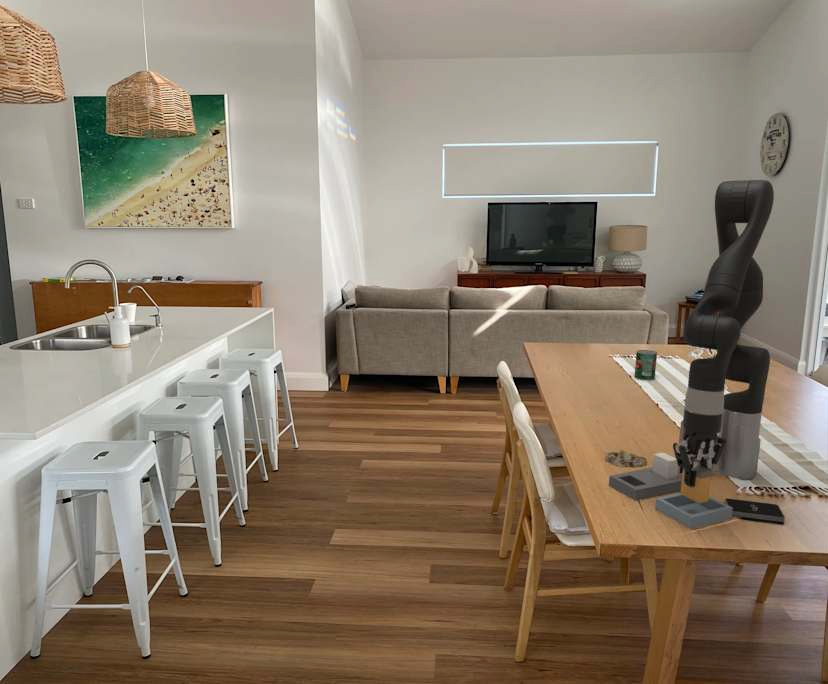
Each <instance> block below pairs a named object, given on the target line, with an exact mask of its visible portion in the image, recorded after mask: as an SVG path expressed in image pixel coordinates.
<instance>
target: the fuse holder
mask: <svg viewBox="0 0 828 684" xmlns="http://www.w3.org/2000/svg"><path fill="white" fill-rule="evenodd" d="M652 467H653V466H652ZM652 467H646V468H642V469H637V470H631V471H627V472H622V473H621V472H620V473H617V474H611V475H609V478H608V486H609V487H611V488H612V489H614V490H615V491H617V492H619V493H621V494H622V495H625V496H627V497H629V498H630V499H632V500H634V501H639V500H644V499H650V498H654V497H657V496H658V497H659V496H663V495H668V494H673V493H677V492H681V483H682V476H680V475H678V474H677V478H674V479H669V480H667V479H665V478H663V477H661V476H659V475H657V474H655V473H653V472H652Z"/></svg>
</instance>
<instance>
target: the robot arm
mask: <svg viewBox="0 0 828 684" xmlns="http://www.w3.org/2000/svg"><path fill="white" fill-rule="evenodd" d="M774 198H775V194H774V187H773V185H772V183H771V181H769V180H766V179H751V180H750V179H749V180H747V179H746V180H744V179H743V180H742V179H741V180H726V181H722V182H721V183H719V185H718V186H717V188H716V191H715V196H714V214H715V215H714V216H715V217H714V218H715V225H716V234H717V244H718V257H717V259H716V258H715V260H714V262H713V263H712V265H711V267H710V269H709V271H708V276H707V279H706V283H705V287H704V289H703V293H702V294H701V295H702V296H701V298H700V299H699V301H698V303H697V304H696V306H695V308H694V309H693V311H692V312H691V313H690V315H689V316H688V318H687V320H686V322H685V324H684V327H683V338H684V341H685V342H686V344H687V345H688V346H690V347H694V348H700V349H701V348H702V349H708V350H716V354H715V356H714V357H705V358H704V357H703V358H702V357H701V358H696V359H693V360H691V362H690V365H689V370H688V371H689V373H688V381H687V382H688V384H687V390H686V394H685V398H684V410H683V416H682V417H683V418H682V421H683V427H684V428H685V431H686V432H685V435H684V437H683V441H682V442H680V443H679V442H678V443H677V442H673V444H672V448H673V453H674V456H675V457H674V458H676V460H677V464H678V466H680V467H683V468H685V476H684V482H685V484H686V485H688V486H690V487H694V486H695V479H696V468H697V464H698V461H699V464H700V465H701V466H703V467H705V468H708V469H709V468H711V466H712V465H713V464H714V471H715V472H717V473H718V474H720V475H723V476H725V477H730V478H733V479H738V480H750V479H753V478H754V477H755V475H757V473H758V472H757V471H758V466H759V456H760V449H761V440H762V439H761V438H760V430H761V423H762V415H763V414H762V413H763V407H764V399H765V395H766V394H765V393H766V386H767V382H768V381H767V380H768V375H769V371H770V365H771V364H770V363H771V355H770V352H769V350H768V349H767V348H763V347H760V346H752V345H751V346H750V345H743V344H739V343H738V342H739V341H740V336H741V329H743V327H744V326H745V325H746V323H747V322H748V321H750V319H751V317H753V316H754V314H755V313H756V312H757V311H758V309H759V308H760V307H761V305H762V302H763V298H764V274H763V272H762V268H761V267H760V265H759V264H758V262H757V261H756V260H755V258H754V257H753V256H754V254H755V252H756V251H757V247H758V245H759V244H760V241H761V239H762V236H763V234H764V231H765V229H766V227H767V225H768V222H769V219H770V218H771V217H770V216H771V213H772V209H773V205H774V200H775V199H774ZM736 224H746V225H745V228H744V230H743V231H742V233H741V234H740V235H739V232H738V230H737V226H736ZM718 312H719V313H720V315H714V314H715V313H718ZM726 380H727V381H732V382H737V383H738V382H739V383H745V384H748V388H746V389H745V390H741V391H737V392H730V393H725V385H726ZM717 433H718V435H717ZM713 452H715V456H714V458H713ZM691 453H692V454H694V455H696V456H694V455H692V454H691ZM704 458H705V459H704ZM690 460H692V464H690Z"/></svg>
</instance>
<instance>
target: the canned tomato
mask: <svg viewBox="0 0 828 684" xmlns="http://www.w3.org/2000/svg"><path fill="white" fill-rule="evenodd" d="M635 354H636V355H635V366H634V377H635V378H634V379H636V378H637V379H636V380H639V379H640V380H639V381H645V380H648V382H650V380H651V381H655V380H654V379H656V371H657V369H656V367H657V359H658V358H657V356H658V352H657V351H655V350H649V349H637V350H636V353H635Z"/></svg>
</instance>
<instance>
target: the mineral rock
mask: <svg viewBox="0 0 828 684" xmlns="http://www.w3.org/2000/svg"><path fill="white" fill-rule="evenodd" d="M605 461H606V462H607V463H609V464H611V465H613V466H615V467H619V468H641V467H645V466H647V465H648V461H647V460H646V457H644V456H639V455H637V454H633V453H632V452H631V453H630V452H629V453H627V451H625V450H624V449H621V450H619V452H618V451H616V452H614V451H610V452H605Z"/></svg>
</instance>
